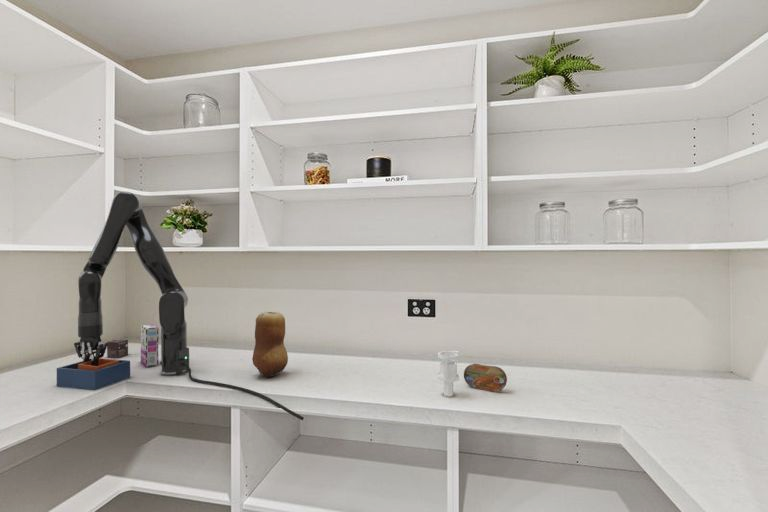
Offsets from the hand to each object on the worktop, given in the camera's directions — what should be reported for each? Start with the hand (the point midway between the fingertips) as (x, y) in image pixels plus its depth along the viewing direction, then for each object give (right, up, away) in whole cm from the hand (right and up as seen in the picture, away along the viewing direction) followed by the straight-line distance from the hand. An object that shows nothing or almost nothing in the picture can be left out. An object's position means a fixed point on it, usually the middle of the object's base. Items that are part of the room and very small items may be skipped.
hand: (90, 368), depth 152 cm
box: (-14, -5, +37) cm, 40 cm away
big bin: (+2, -5, 0) cm, 5 cm away
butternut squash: (+66, -5, +6) cm, 66 cm away
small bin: (+3, -4, 0) cm, 5 cm away
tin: (+146, -4, -10) cm, 147 cm away
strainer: (+132, -4, -16) cm, 133 cm away
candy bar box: (+8, -5, +24) cm, 26 cm away
